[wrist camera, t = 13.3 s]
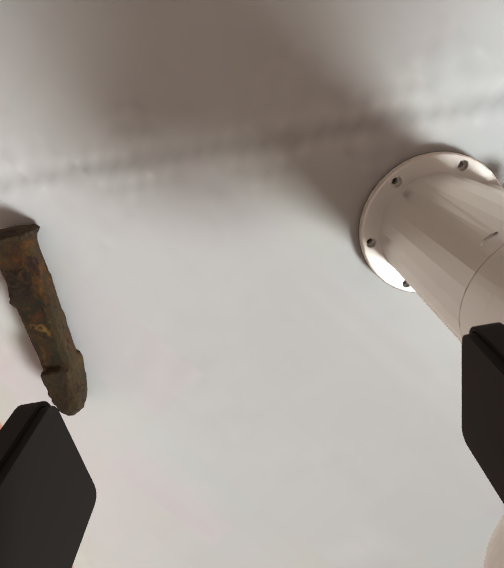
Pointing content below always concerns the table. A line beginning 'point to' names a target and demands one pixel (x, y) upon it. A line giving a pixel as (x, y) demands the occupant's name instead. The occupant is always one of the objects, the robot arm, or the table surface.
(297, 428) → the table surface
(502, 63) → the table surface
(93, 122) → the table surface
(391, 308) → the table surface
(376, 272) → the robot arm
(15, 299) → the hand tool
